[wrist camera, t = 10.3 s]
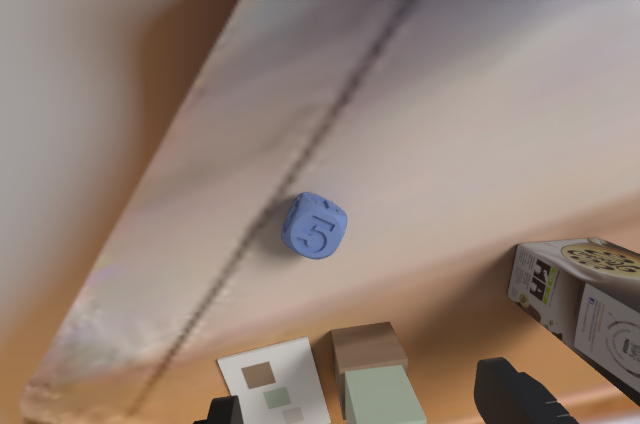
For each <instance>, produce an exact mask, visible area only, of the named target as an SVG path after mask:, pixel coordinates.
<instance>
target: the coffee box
mask: <svg viewBox="0 0 640 424" xmlns="http://www.w3.org/2000/svg"><path fill="white" fill-rule="evenodd" d="M508 297H509V298H510V299H511V300H512V301H514V302H515V303H516V304H517V305H519V306H520V307H521V308H522V309H523V310H525V311H526V312H527V313H528V314H529V315H531V316H532V317H533V318H534V319H535V320H537V321H538V322H539V323H540V324H541V325H542V326H544V327H545V328H546V329H547V330H548V331H549V332H551V333H552V334H553V335H555V336H556V337H557V338H558V339H559V340H561V341H562V342H563V343H564V344H565V345H566V346H568V347H569V348H570V349H571V350H572V351H574V352H575V353H576V354H577V355H579V356H580V357H581V358H582V359H583V360H584V361H586V362H587V363H588V364H589V365H590V366H592V367H593V368H594V369H595V370H596V371H598V372H599V373H600V374H601V375H602V376H604V377H605V378H606V379H607V380H608V381H610V382H611V383H612V384H613V385H614V386H616V387H617V388H618V389H619V390H620V391H622V392H623V393H624V394H625V395H626V396H628V397H629V398H630V399H631V400H632V401H633V402H635V403H636V404H637V405H638V406H639V407H640V254H638V253H635V252H633V251H630V250H628V249H625V248H623V247H620V246H618V245H615V244H613V243H611V242H608V241H606V240H603V239H601V238H585V239H572V240H560V241H548V242H536V243H523V244H518V247H517V251H516V256H515V261H514V265H513V270H512V275H511V280H510V284H509V289H508Z"/></svg>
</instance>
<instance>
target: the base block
mask: <svg viewBox="0 0 640 424" xmlns="http://www.w3.org/2000/svg"><path fill="white" fill-rule="evenodd" d="M331 336H332V348H333V361H334V373H335V380H336V385H337V391H338V396H339V401H340V406H341V411H342V417H343V420H346V415H345V372H346V371H354V370H362V369H371V368H379V367H387V366H396V365H402V367H403V369H404V371H405V373H406V375H407V378H408V358H407V356H406V354H405V352H404V350H403V348H402V346H401V344H400V342H399V340H398V338H397V336H396V334H395V332H394V330H393V328H392V326H391V324H390V322H384V323H377V324H370V325H363V326H356V327H349V328H341V329H334V330H331Z"/></svg>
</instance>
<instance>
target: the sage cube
mask: <svg viewBox="0 0 640 424" xmlns="http://www.w3.org/2000/svg"><path fill="white" fill-rule="evenodd" d="M345 415H346V420H347V424H426V422H427V419H426V417H425V414H424V412H423V410H422V408H421V406H420V404H419V401H418V399H417V397H416V395H415V393H414V391H413V388H412V386H411V384H410V382H409V380H408V378H407V375H406V373H405V371H404V369H403V367H402V365H396V366H387V367H379V368H371V369H362V370H354V371H346V372H345Z"/></svg>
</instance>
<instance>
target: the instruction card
mask: <svg viewBox="0 0 640 424" xmlns="http://www.w3.org/2000/svg"><path fill="white" fill-rule="evenodd" d="M217 361H218V363H219V366H220V368H221V371H222V373H223V376H224V378H225V380H226V383H227V385H228V388H229V390H230V393H231V395H232V396H234V395H238V398H239V402H240V407H241V412H242V417H243V422H244V424H329V423H331V420H330V417H329V413H328V409H327V406H326V402H325V398H324V395H323V391H322V387H321V384H320V380H319V376H318V373H317V369H316V366H315V362H314V358H313V355H312V351H311V347H310V344H309V340H308V336H306V337H302V338H298V339H294V340H290V341H286V342H282V343H278V344H274V345H270V346H266V347H262V348H258V349H254V350H250V351H246V352H241V353H237V354H233V355H229V356H225V357H221V358H218V360H217Z"/></svg>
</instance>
